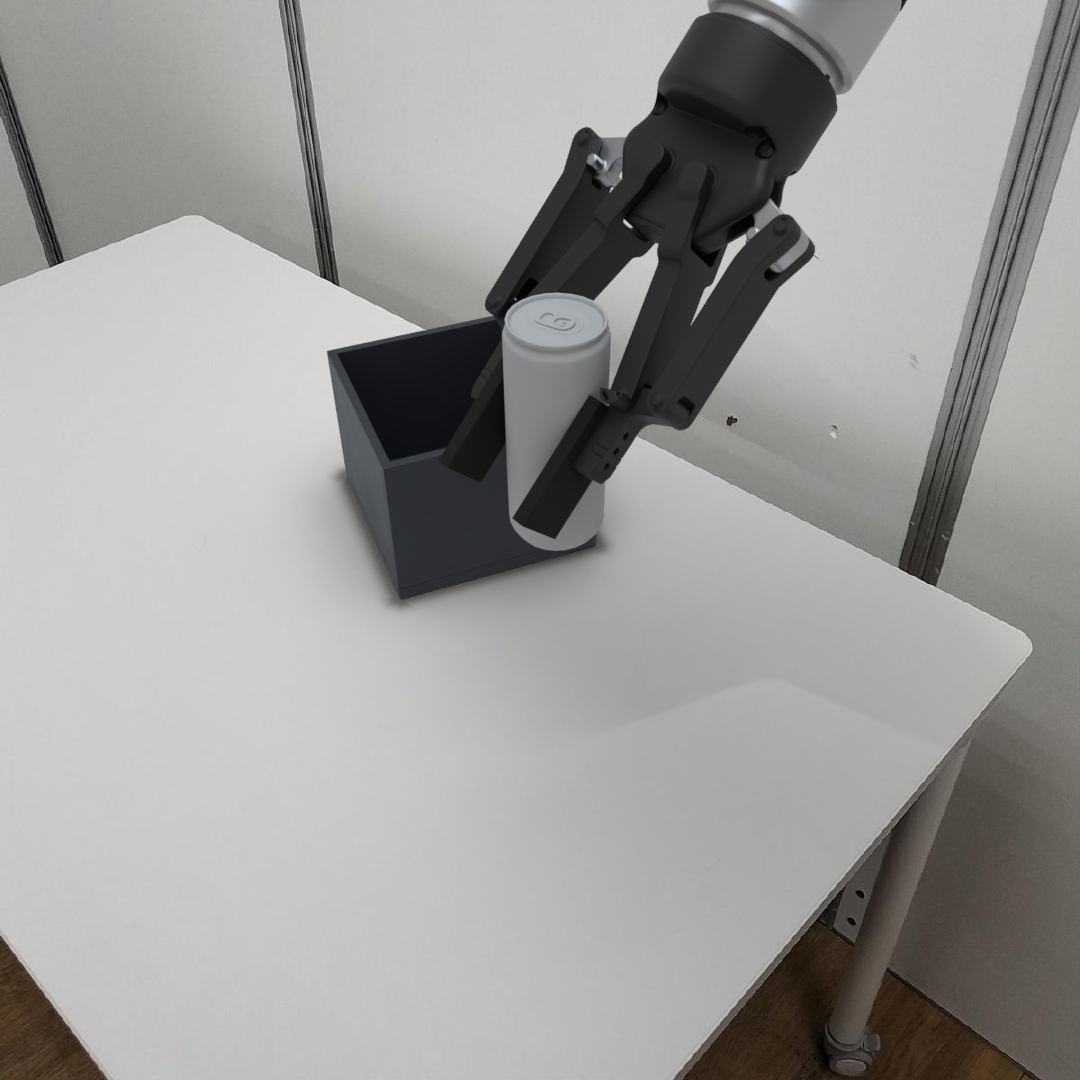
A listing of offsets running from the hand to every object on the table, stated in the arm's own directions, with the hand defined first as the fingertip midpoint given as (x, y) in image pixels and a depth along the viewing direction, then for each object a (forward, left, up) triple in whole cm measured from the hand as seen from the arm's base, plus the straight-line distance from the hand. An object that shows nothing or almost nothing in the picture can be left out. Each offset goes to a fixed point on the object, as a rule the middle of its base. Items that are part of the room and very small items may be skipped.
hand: (496, 498), depth 53 cm
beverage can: (+1, -4, -4) cm, 5 cm away
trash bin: (+21, -5, -18) cm, 28 cm away
